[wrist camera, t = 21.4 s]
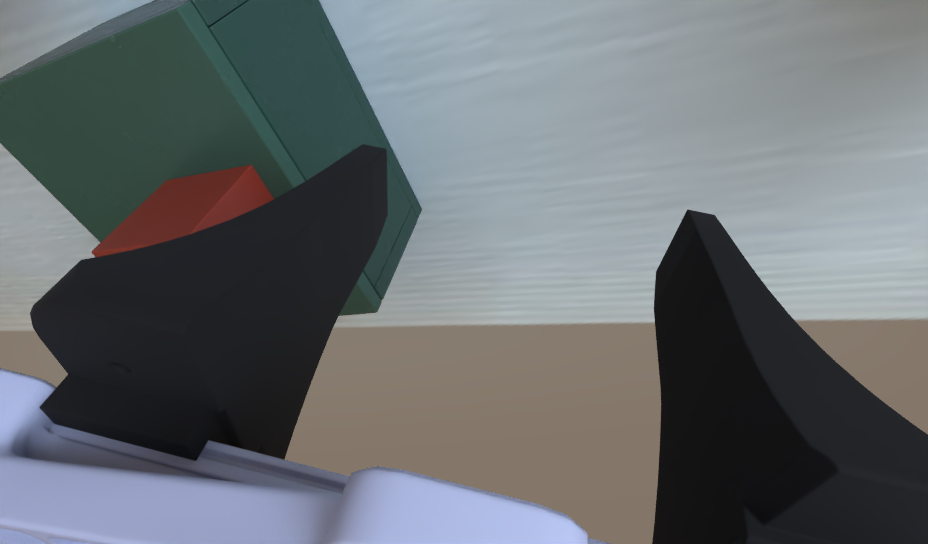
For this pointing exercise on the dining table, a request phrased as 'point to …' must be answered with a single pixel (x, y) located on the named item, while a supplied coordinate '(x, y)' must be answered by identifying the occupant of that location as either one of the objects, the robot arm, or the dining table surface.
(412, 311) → the dining table surface
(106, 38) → the bin lid
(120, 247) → the block
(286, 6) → the bin
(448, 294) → the dining table surface
